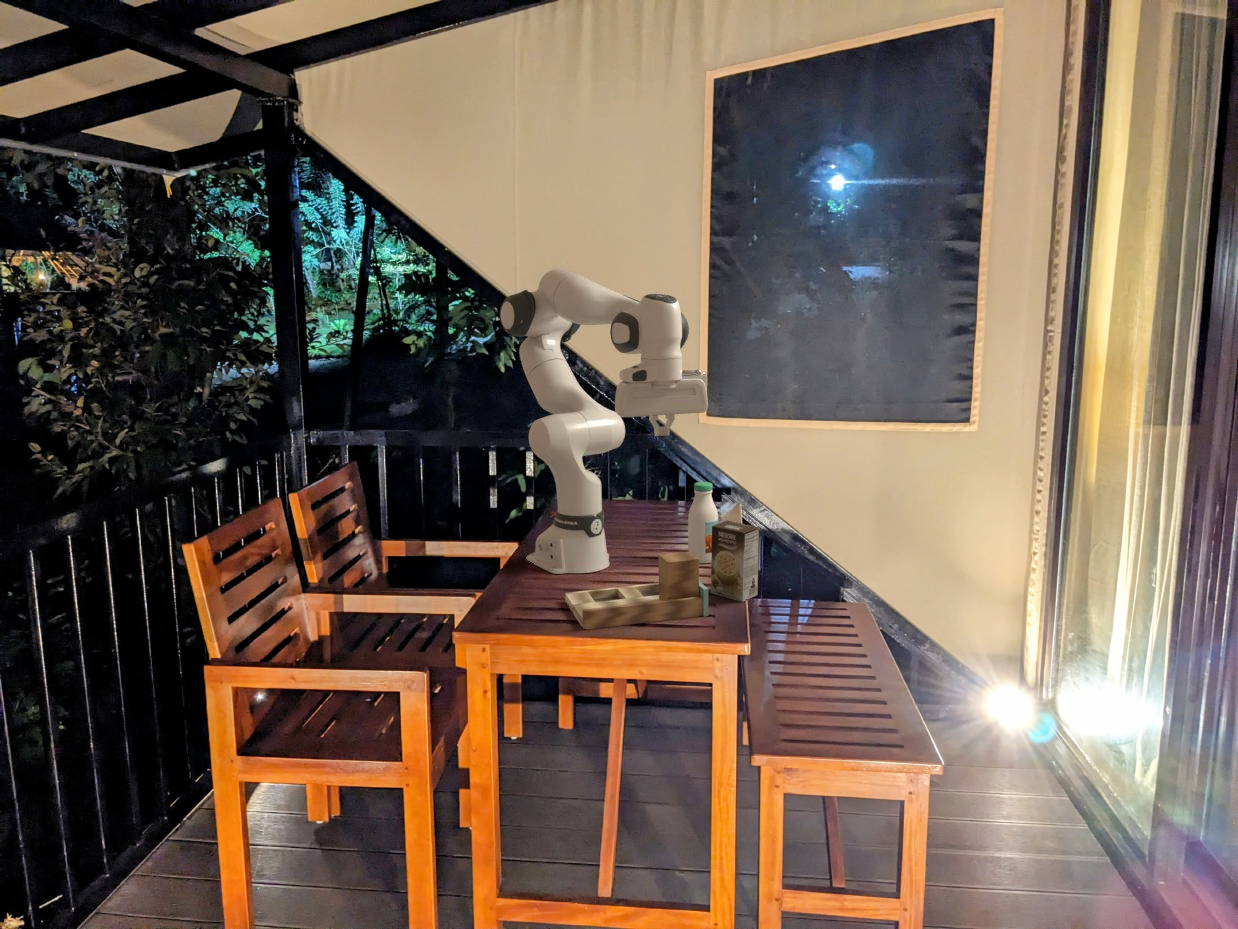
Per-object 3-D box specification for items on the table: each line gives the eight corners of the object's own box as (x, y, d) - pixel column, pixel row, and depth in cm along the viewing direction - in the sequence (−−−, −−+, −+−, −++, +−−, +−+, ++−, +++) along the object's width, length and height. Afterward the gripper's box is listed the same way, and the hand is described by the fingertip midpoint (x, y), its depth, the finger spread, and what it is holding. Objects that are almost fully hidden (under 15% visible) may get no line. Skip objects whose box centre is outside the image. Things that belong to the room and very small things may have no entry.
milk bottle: (694, 565, 227) (694, 487, 223) (683, 557, 234) (683, 481, 230) (723, 562, 229) (723, 485, 225) (711, 554, 236) (711, 479, 232)
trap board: (583, 629, 185) (583, 611, 184) (565, 601, 202) (564, 584, 202) (703, 615, 192) (703, 597, 191) (675, 589, 209) (675, 572, 208)
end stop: (703, 616, 192) (703, 589, 190) (675, 590, 209) (675, 565, 208) (708, 615, 192) (708, 588, 191) (679, 589, 209) (679, 564, 208)
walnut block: (667, 607, 191) (667, 562, 190) (658, 598, 197) (658, 554, 195) (698, 604, 193) (698, 559, 191) (689, 595, 199) (689, 551, 197)
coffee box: (709, 593, 206) (709, 525, 203) (725, 586, 210) (726, 519, 207) (743, 602, 200) (744, 532, 197) (759, 595, 204) (760, 526, 201)
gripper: (701, 368, 199) (701, 430, 201) (612, 372, 193) (613, 436, 196) (712, 370, 193) (712, 434, 195) (620, 374, 187) (621, 440, 190)
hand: (662, 435), depth 196 cm, fingers closed
